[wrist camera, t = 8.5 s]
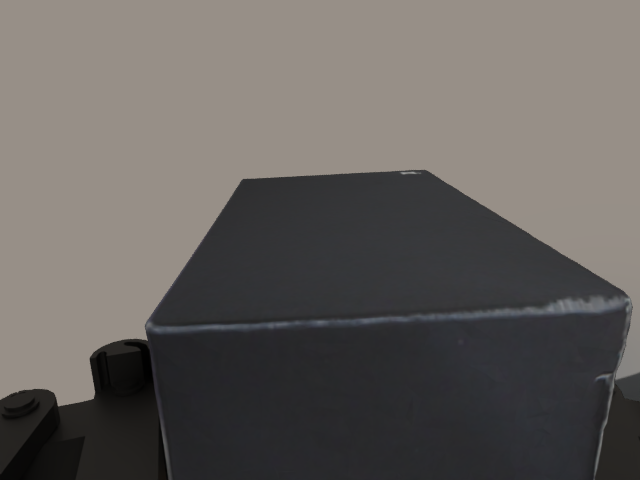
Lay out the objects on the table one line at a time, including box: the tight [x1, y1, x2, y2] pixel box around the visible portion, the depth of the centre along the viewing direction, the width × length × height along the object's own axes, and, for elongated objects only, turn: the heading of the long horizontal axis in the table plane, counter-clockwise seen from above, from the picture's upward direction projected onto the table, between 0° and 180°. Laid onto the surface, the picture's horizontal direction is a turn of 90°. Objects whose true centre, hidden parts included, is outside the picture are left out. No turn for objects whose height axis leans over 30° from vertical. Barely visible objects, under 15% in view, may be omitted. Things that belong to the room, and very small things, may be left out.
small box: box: [145, 170, 633, 480], centre depth 12 cm, size 11×6×10 cm, turn 2°
